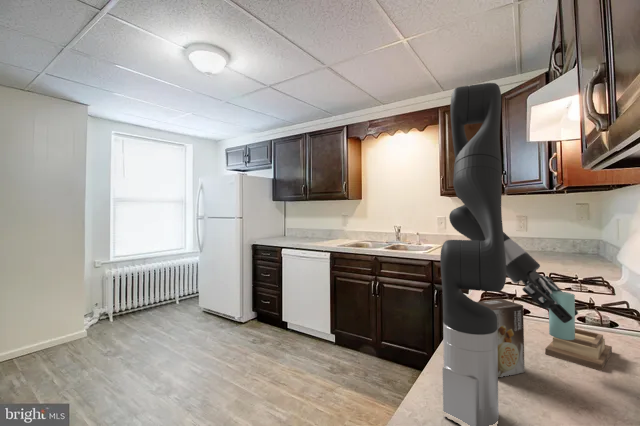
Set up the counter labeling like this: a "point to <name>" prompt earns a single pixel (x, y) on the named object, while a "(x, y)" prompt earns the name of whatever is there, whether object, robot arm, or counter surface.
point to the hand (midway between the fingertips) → (571, 317)
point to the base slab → (579, 357)
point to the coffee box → (508, 336)
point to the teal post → (555, 324)
